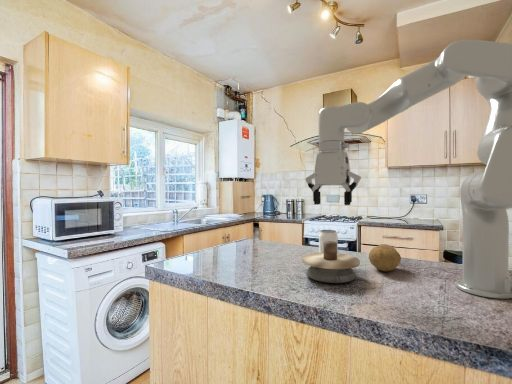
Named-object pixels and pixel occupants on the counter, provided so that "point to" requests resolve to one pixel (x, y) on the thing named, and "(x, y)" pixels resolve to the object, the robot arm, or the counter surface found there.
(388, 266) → the potato
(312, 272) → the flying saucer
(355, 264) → the lid
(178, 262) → the counter surface
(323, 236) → the can
